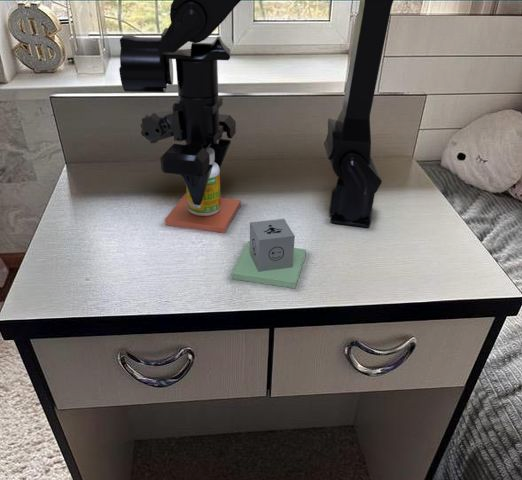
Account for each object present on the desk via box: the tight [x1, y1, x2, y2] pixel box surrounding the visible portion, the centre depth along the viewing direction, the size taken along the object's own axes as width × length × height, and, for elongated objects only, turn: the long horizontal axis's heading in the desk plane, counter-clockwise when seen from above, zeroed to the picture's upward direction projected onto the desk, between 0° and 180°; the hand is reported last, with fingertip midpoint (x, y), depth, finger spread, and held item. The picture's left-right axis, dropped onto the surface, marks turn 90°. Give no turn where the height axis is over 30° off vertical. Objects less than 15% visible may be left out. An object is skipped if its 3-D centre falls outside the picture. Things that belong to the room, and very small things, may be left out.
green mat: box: [231, 240, 307, 289], centre depth 76 cm, size 9×9×1 cm
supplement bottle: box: [186, 147, 221, 216], centre depth 83 cm, size 5×5×10 cm
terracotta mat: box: [164, 192, 242, 234], centre depth 87 cm, size 10×10×1 cm
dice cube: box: [249, 218, 296, 272], centre depth 74 cm, size 5×5×5 cm
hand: (203, 195), depth 85 cm, fingers open, 6 cm apart
